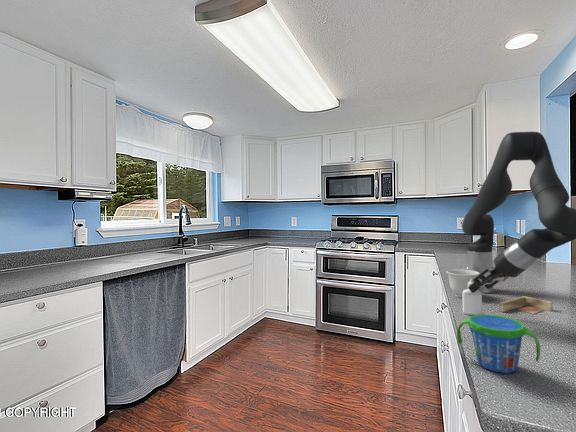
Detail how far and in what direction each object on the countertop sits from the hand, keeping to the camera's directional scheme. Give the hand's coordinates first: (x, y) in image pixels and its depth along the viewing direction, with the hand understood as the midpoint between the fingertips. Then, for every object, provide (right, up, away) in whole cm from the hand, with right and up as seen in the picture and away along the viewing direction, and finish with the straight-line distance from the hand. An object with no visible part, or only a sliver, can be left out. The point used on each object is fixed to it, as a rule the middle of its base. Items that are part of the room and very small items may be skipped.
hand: (478, 288), depth 101 cm
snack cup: (-16, -10, -32) cm, 37 cm away
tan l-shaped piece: (+19, -9, +3) cm, 21 cm away
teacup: (+8, -9, +24) cm, 27 cm away
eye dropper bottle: (-1, -9, +2) cm, 10 cm away
